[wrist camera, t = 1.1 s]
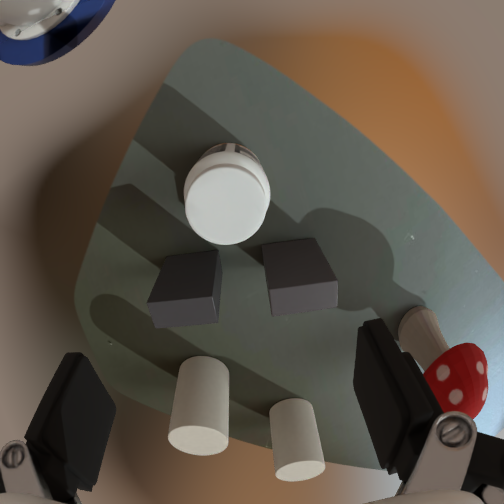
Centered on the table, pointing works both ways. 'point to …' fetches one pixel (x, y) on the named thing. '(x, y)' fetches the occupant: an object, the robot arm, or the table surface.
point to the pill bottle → (226, 194)
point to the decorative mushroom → (445, 363)
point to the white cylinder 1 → (200, 407)
